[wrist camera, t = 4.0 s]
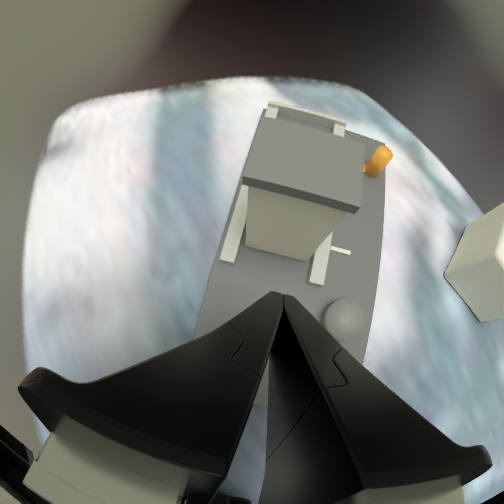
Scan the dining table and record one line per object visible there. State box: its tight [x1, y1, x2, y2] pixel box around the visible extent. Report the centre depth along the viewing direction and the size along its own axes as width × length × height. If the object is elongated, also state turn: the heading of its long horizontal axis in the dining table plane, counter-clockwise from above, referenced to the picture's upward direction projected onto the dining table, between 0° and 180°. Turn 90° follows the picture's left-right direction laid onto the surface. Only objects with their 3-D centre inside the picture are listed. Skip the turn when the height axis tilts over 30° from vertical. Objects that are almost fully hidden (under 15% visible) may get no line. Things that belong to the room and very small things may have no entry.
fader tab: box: [242, 116, 364, 261], centre depth 16 cm, size 3×5×10 cm
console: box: [193, 101, 393, 407], centre depth 19 cm, size 24×12×4 cm, turn 166°
